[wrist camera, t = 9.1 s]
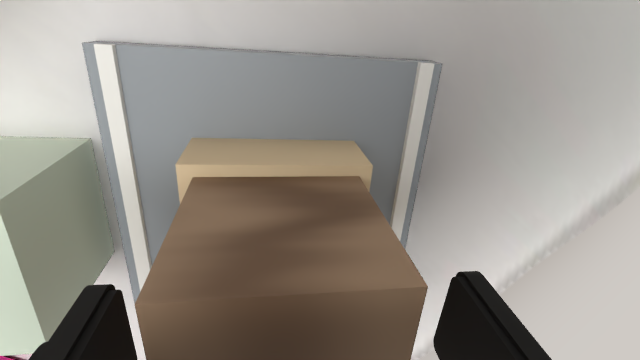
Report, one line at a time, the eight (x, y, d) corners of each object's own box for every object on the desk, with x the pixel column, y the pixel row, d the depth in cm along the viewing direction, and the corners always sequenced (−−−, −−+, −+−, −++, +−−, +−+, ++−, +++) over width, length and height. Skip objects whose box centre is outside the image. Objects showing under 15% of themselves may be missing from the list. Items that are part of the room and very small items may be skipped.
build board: (429, 60, 16) (482, 73, 12) (385, 296, 21) (411, 354, 18) (96, 41, 13) (31, 48, 10) (146, 310, 19) (118, 381, 15)
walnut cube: (359, 176, 13) (428, 287, 8) (345, 298, 15) (388, 447, 10) (192, 177, 12) (134, 304, 7) (205, 307, 14) (171, 477, 9)
